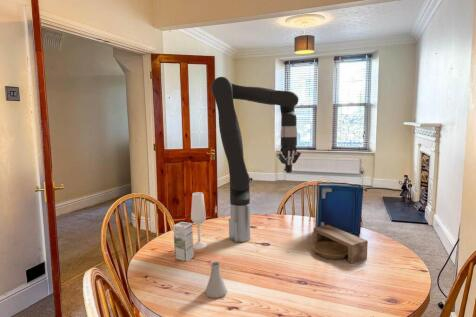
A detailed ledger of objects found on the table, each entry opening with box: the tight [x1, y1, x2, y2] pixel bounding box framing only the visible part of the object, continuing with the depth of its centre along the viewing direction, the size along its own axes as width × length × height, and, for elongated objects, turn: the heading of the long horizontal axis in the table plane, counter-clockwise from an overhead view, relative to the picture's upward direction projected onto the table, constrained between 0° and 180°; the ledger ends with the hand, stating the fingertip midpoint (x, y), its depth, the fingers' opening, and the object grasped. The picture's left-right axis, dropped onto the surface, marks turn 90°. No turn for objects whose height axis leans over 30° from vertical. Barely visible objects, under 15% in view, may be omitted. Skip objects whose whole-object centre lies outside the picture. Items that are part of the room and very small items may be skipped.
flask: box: [204, 261, 228, 299], centre depth 101 cm, size 7×7×10 cm
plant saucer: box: [312, 241, 348, 260], centre depth 130 cm, size 15×15×3 cm
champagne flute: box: [190, 191, 208, 250], centre depth 138 cm, size 7×7×24 cm
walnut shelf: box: [312, 225, 369, 264], centre depth 131 cm, size 8×22×8 cm, turn 28°
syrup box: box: [173, 221, 194, 262], centre depth 126 cm, size 6×6×14 cm
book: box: [314, 181, 364, 236], centre depth 151 cm, size 22×7×25 cm, turn 84°
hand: (288, 172), depth 146 cm, fingers closed
